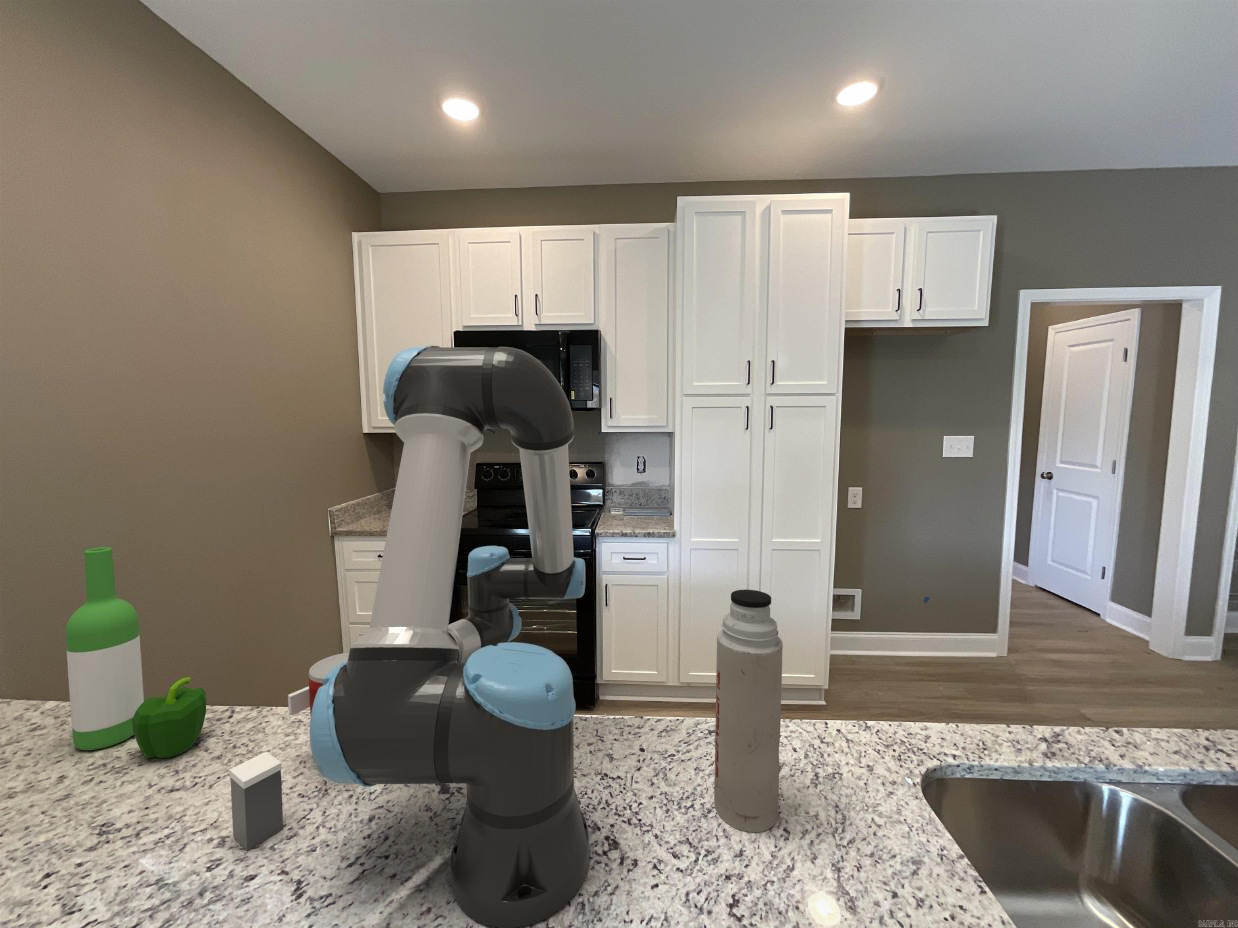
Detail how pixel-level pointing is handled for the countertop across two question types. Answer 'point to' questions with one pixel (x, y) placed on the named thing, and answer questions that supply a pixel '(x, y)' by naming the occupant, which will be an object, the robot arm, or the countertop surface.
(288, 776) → the countertop surface
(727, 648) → the thermos bottle
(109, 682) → the wine bottle
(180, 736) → the bell pepper
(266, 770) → the toggle
